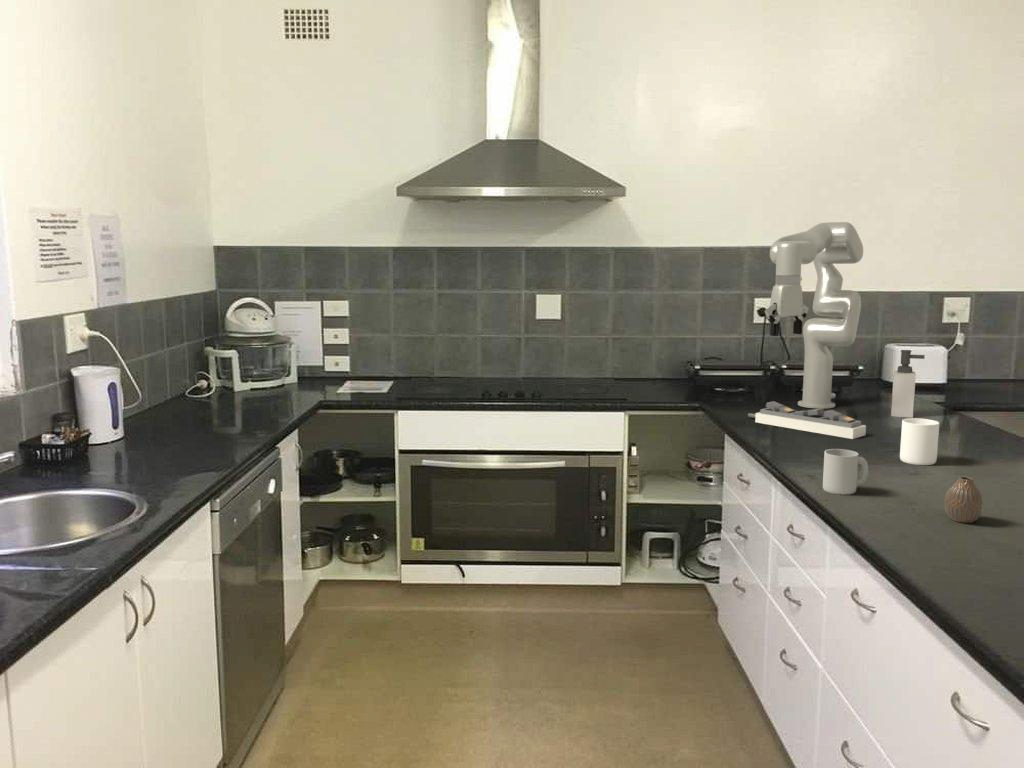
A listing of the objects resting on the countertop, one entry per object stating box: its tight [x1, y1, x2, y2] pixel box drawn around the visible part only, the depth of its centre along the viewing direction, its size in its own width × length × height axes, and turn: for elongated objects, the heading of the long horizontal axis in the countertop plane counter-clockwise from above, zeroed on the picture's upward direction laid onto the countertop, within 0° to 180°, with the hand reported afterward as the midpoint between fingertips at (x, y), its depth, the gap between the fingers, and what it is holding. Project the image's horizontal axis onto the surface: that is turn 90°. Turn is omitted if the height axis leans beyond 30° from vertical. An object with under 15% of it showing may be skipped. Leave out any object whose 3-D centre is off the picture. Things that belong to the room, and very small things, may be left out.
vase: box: [944, 476, 985, 524], centre depth 161 cm, size 7×7×9 cm
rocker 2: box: [794, 408, 825, 416], centre depth 248 cm, size 4×8×2 cm, turn 39°
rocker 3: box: [822, 409, 856, 423], centre depth 240 cm, size 4×8×2 cm, turn 39°
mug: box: [899, 417, 940, 466], centre depth 208 cm, size 9×12×11 cm
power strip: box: [747, 407, 867, 440], centre depth 250 cm, size 8×38×4 cm, turn 39°
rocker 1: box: [765, 400, 796, 413], centre depth 256 cm, size 4×8×2 cm, turn 39°
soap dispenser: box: [890, 349, 926, 418], centre depth 266 cm, size 6×9×22 cm
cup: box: [822, 448, 869, 496], centre depth 182 cm, size 7×10×9 cm
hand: (786, 334), depth 255 cm, fingers open, 9 cm apart
